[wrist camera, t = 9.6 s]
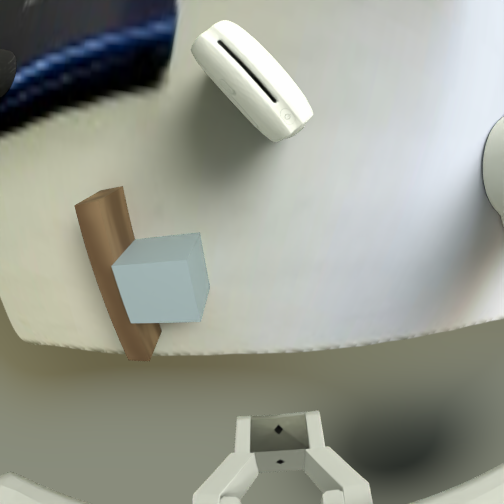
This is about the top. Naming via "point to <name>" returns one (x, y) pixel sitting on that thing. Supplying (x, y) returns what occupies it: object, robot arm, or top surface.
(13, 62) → the travel mug
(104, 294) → the stop board
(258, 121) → the photo printer
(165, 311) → the slate block
